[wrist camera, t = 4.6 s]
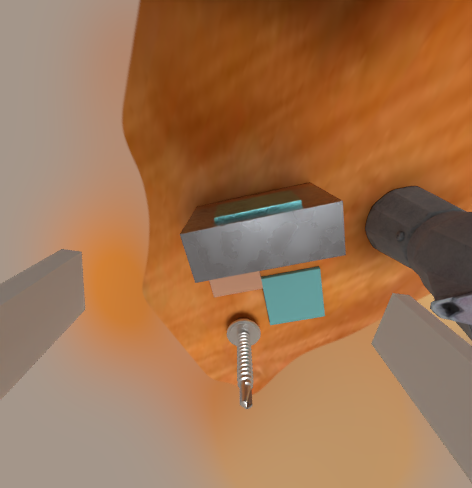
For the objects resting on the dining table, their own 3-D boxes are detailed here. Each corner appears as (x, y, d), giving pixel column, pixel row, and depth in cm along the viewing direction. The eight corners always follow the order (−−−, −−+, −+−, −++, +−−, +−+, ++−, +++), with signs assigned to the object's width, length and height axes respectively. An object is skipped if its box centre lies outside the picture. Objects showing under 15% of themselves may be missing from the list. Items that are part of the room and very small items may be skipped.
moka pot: (338, 196, 31) (492, 281, 12) (472, 165, 29) (880, 208, 11) (344, 264, 34) (470, 411, 16) (464, 240, 33) (760, 370, 14)
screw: (258, 336, 39) (227, 336, 39) (259, 310, 37) (227, 311, 37) (268, 424, 27) (223, 424, 27) (270, 392, 25) (222, 392, 25)
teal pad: (260, 277, 35) (261, 279, 34) (318, 266, 34) (320, 268, 34) (270, 322, 38) (270, 325, 37) (323, 313, 37) (324, 316, 37)
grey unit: (196, 203, 31) (178, 230, 22) (309, 179, 30) (342, 196, 21) (207, 243, 33) (195, 282, 24) (314, 221, 32) (345, 254, 23)
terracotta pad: (201, 251, 33) (201, 253, 33) (253, 241, 33) (253, 242, 32) (214, 294, 36) (214, 297, 35) (262, 286, 35) (263, 288, 35)
